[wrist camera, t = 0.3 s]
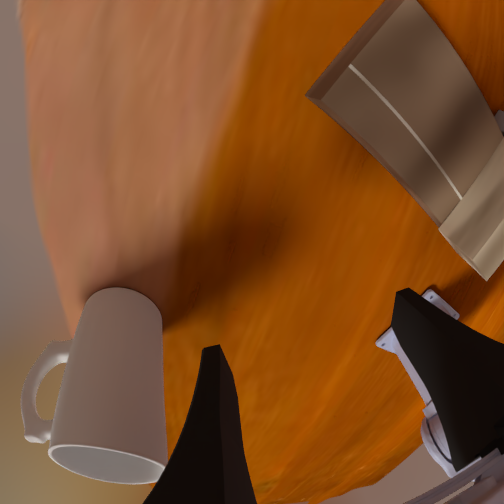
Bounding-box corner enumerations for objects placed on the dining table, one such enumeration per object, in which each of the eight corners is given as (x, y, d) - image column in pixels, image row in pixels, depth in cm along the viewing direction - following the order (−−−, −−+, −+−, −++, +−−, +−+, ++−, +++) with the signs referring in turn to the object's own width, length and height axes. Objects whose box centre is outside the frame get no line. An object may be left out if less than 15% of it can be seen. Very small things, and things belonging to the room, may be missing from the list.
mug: (161, 282, 21) (159, 449, 11) (170, 346, 25) (176, 485, 15) (34, 283, 19) (-20, 424, 9) (59, 344, 23) (33, 470, 13)
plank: (500, 164, 21) (519, 175, 19) (447, 237, 24) (463, 252, 22) (387, -3, 13) (411, -7, 11) (304, 95, 16) (320, 100, 14)
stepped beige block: (512, 140, 19) (562, 166, 14) (442, 239, 23) (486, 281, 18) (498, 109, 17) (554, 132, 12) (422, 216, 22) (472, 259, 17)
